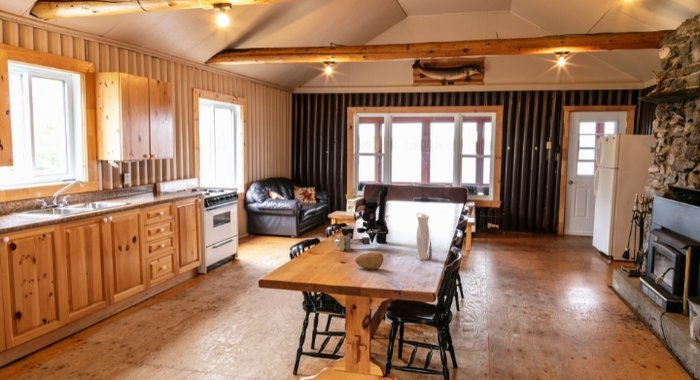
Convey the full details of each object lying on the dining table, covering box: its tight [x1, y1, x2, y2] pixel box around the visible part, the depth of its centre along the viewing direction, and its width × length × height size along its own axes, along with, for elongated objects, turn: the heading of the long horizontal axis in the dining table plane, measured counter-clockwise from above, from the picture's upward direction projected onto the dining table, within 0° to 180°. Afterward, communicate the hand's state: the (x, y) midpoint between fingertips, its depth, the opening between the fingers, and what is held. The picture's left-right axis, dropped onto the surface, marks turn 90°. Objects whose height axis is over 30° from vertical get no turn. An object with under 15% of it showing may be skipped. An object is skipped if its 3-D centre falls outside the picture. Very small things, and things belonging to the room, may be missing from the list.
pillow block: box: [344, 236, 352, 252], centre depth 302 cm, size 3×9×8 cm, turn 13°
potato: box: [354, 251, 384, 271], centre depth 254 cm, size 9×16×9 cm, turn 70°
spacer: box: [336, 233, 345, 252], centre depth 301 cm, size 3×8×10 cm, turn 13°
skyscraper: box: [416, 212, 433, 262], centre depth 276 cm, size 8×8×28 cm
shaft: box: [334, 236, 371, 246], centre depth 303 cm, size 22×4×4 cm, turn 103°
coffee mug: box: [336, 226, 355, 239], centre depth 325 cm, size 12×9×10 cm
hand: (371, 242), depth 306 cm, fingers closed
